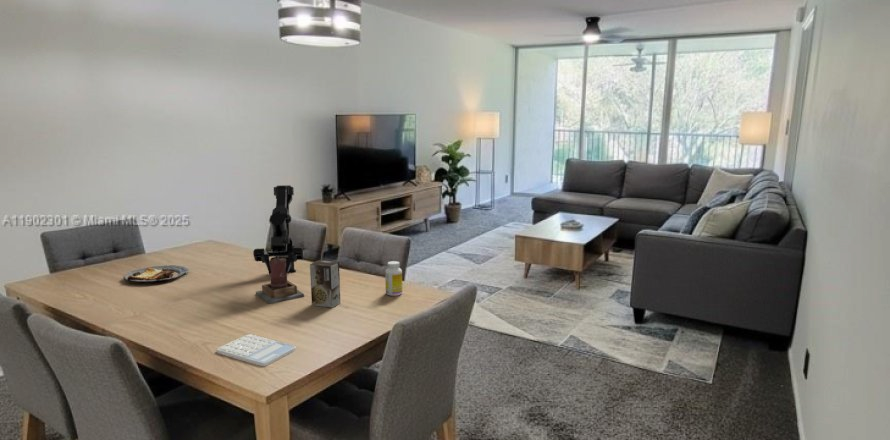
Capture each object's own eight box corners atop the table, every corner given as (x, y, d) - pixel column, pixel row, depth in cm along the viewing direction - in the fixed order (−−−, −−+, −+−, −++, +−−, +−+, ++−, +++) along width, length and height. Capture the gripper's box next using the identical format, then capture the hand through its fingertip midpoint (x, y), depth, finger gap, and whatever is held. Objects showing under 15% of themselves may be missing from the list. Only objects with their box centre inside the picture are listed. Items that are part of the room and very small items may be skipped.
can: (285, 289, 216) (283, 255, 213) (289, 293, 210) (287, 258, 208) (269, 291, 213) (267, 257, 210) (273, 296, 207) (271, 260, 205)
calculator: (249, 338, 172) (249, 332, 172) (297, 350, 163) (297, 345, 163) (215, 354, 161) (214, 348, 160) (264, 368, 152) (264, 362, 151)
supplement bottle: (405, 292, 217) (405, 261, 214) (397, 297, 211) (396, 265, 208) (390, 290, 219) (390, 259, 217) (382, 294, 213) (382, 263, 211)
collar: (289, 287, 221) (289, 278, 220) (304, 296, 210) (303, 286, 210) (255, 294, 213) (255, 284, 212) (268, 303, 202) (268, 293, 201)
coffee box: (341, 302, 204) (340, 261, 201) (332, 308, 198) (331, 266, 195) (320, 300, 207) (318, 259, 204) (310, 305, 201) (309, 263, 198)
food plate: (168, 286, 221) (167, 277, 221) (112, 285, 222) (111, 277, 221) (197, 270, 246) (196, 263, 245) (146, 270, 246) (146, 262, 246)
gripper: (252, 228, 209) (249, 263, 200) (302, 227, 212) (301, 261, 204) (256, 243, 218) (254, 278, 209) (304, 242, 221) (303, 275, 213)
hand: (278, 273), depth 209 cm, fingers open, 6 cm apart
